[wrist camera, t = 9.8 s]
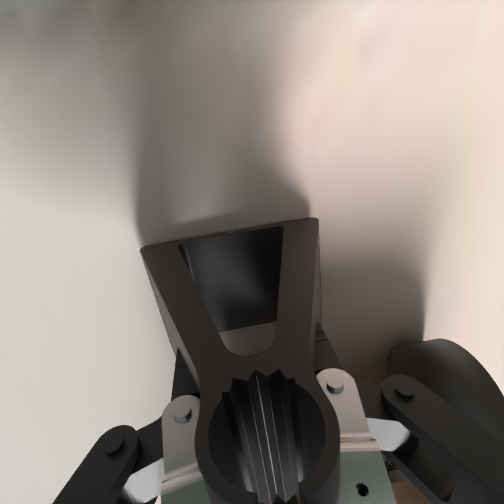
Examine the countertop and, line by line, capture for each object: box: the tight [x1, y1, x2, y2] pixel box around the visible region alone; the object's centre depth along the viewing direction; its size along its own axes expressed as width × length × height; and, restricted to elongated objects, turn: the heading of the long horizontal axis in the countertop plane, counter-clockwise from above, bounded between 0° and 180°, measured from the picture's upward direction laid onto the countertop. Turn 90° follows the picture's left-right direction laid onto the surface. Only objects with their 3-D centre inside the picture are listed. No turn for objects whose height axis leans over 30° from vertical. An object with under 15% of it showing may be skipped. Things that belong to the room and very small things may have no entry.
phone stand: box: [140, 218, 340, 504], centre depth 12 cm, size 9×6×12 cm, turn 97°
